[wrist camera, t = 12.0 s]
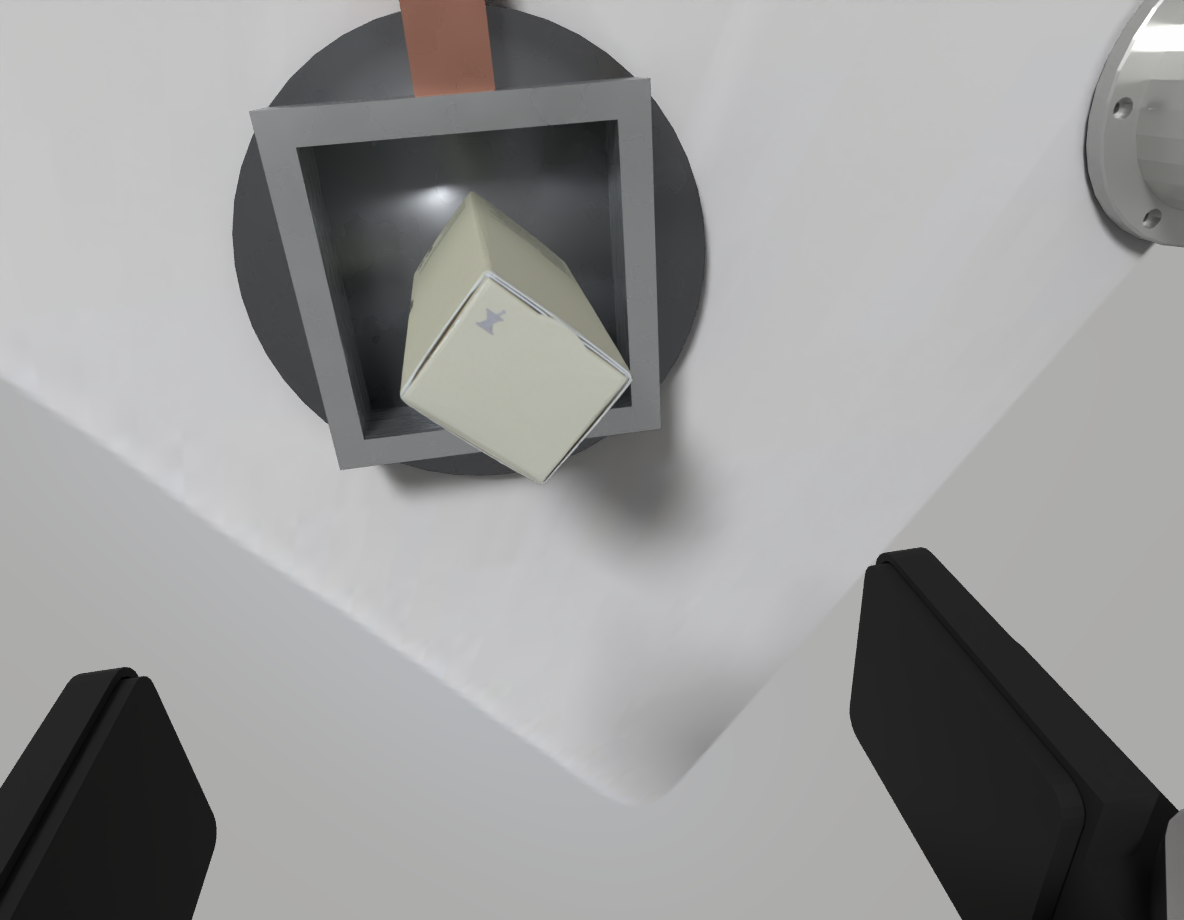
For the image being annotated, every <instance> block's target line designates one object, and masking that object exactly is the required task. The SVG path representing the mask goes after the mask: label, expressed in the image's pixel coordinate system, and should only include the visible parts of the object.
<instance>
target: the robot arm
mask: <svg viewBox="0 0 1184 920" xmlns="http://www.w3.org/2000/svg"><path fill="white" fill-rule="evenodd" d="M1086 150H1087V162H1088V173H1089V176H1090V180H1091V183H1092V186H1093V190H1094V193H1095V196H1096V198H1097V199H1098V201H1099V203H1100V204H1101V206H1102V208H1103V210H1104V211H1105V213H1106V215H1107V216H1109V217H1110V218H1111V219H1112V220H1113V221H1114V222H1115V223H1116V224H1117V225H1118V226H1119V227H1120V228H1121V229H1122V230H1124V231H1126V232H1128V233H1130V234H1132V235H1134V236H1135V237H1137V238H1139V239H1143V240H1147V241H1151V242H1154V243H1157V244H1161V245H1168V246H1177V247H1184V0H1145V1H1144V2H1143V3H1142V5H1141V6H1140V7H1139V9H1138V10H1137V11H1136V13H1135V14H1134V15H1133V17H1132V18H1131V19H1130V21H1129V22H1128V23H1127V25H1126V27H1125V28H1124V30H1123V32H1122V34H1121V35H1120V37H1119V39H1118V41H1117V42H1116V44H1115V46H1114V48H1113V49H1112V51H1111V53H1110V55H1109V57H1108V60H1107V62H1106V64H1105V67H1104V69H1103V72H1102V74H1101V77H1100V79H1099V82H1098V84H1097V87H1096V91H1095V95H1094V99H1093V102H1092V106H1091V110H1090V114H1089V121H1088V131H1087V142H1086ZM850 719H851V723H852V727H853V730H854V733H855V735H856V737H857V739H858V740H859V742H860V744H861V746H862V747H863V749H864V751H865V752H866V754H867V756H868V757H869V759H870V761H871V763H872V765H873V766H874V768H875V770H876V771H877V773H878V775H879V777H880V778H881V780H882V782H883V784H884V785H885V787H886V789H887V791H888V792H889V794H890V796H891V797H892V799H893V801H894V803H895V804H896V806H897V808H898V810H899V811H900V813H901V815H902V817H903V818H904V820H905V822H906V823H907V825H908V827H909V829H910V830H911V832H912V834H913V836H914V837H915V839H916V841H917V842H918V844H919V846H920V848H921V849H922V851H923V853H924V855H925V856H926V858H927V860H928V861H929V863H930V865H931V867H932V868H933V870H934V872H935V874H936V875H937V877H938V879H939V881H940V882H941V884H942V886H943V887H944V889H945V891H946V893H947V894H948V896H949V898H950V900H951V901H952V903H953V905H954V907H955V908H956V910H957V911H958V913H959V915H960V917H961V919H962V920H1184V809H1182V810H1180V811H1178V810H1177V809H1176V808H1175V806H1173V804H1172V803H1171V802H1170V801H1169V800H1168V799H1167V798H1166V797H1165V796H1164V795H1163V794H1162V793H1161V792H1160V791H1159V790H1158V789H1157V788H1156V787H1155V785H1154V784H1153V783H1151V781H1150V780H1149V779H1148V778H1147V777H1146V776H1145V775H1144V774H1143V773H1142V772H1141V771H1140V770H1139V769H1138V768H1137V767H1136V766H1135V764H1134V763H1133V762H1132V761H1131V760H1130V759H1129V758H1128V757H1127V756H1126V755H1125V754H1124V753H1123V752H1122V751H1121V750H1120V749H1119V748H1118V747H1117V746H1116V744H1115V743H1114V742H1113V741H1112V740H1111V739H1110V738H1109V737H1108V736H1107V735H1106V734H1105V733H1104V732H1103V731H1102V730H1101V729H1100V728H1099V727H1098V725H1097V724H1096V723H1095V722H1094V721H1093V720H1092V719H1091V718H1090V717H1089V716H1088V715H1087V714H1086V713H1085V712H1084V711H1083V710H1082V709H1081V708H1080V707H1079V706H1078V705H1077V703H1076V702H1075V701H1073V699H1072V698H1071V697H1070V696H1069V695H1068V694H1067V693H1066V692H1065V691H1064V690H1063V689H1062V688H1061V687H1060V686H1059V685H1058V683H1057V682H1056V681H1055V680H1054V679H1053V678H1052V677H1051V676H1050V675H1049V674H1048V673H1047V672H1046V671H1045V670H1044V669H1043V668H1042V667H1041V666H1040V664H1038V662H1037V661H1036V660H1035V659H1034V658H1033V657H1032V656H1031V655H1030V654H1029V653H1028V652H1027V651H1026V650H1025V649H1024V648H1023V647H1022V646H1021V645H1020V644H1019V643H1017V642H1016V641H1015V640H1014V639H1013V638H1012V637H1011V636H1010V635H1009V634H1008V633H1007V632H1006V631H1005V630H1004V629H1003V628H1002V627H1001V626H1000V625H999V624H998V622H996V620H995V619H994V618H993V617H992V616H991V615H990V614H989V613H988V612H987V611H986V610H985V609H984V608H983V607H982V606H981V605H980V604H979V602H978V601H977V600H976V599H975V598H974V597H973V596H972V595H971V594H970V593H969V592H968V591H967V590H966V589H965V588H964V587H963V586H962V584H961V583H960V582H959V581H958V580H957V579H956V578H955V577H954V576H953V575H952V574H951V573H950V572H949V571H948V570H947V569H946V568H945V567H944V565H943V564H942V563H941V562H940V561H939V560H938V559H937V558H936V557H935V556H934V555H933V554H932V553H931V552H930V551H929V550H927V549H926V548H922V547H920V548H913V549H907V550H901V551H893V552H887V553H883V554H880V555H879V557H878V558H877V561H876V565H873V566H869V567H868V568H867V570H866V573H865V579H864V589H863V597H862V606H861V614H860V623H859V632H858V640H857V649H856V658H855V667H854V675H853V684H852V692H851V701H850ZM215 843H216V821H215V818H214V815H213V813H212V810H211V808H210V806H209V804H208V802H207V799H206V797H205V795H204V793H203V791H202V789H201V786H200V784H199V782H198V780H197V778H196V775H195V773H194V771H193V769H192V767H191V765H190V762H189V760H188V758H187V756H186V754H185V751H184V749H183V747H182V745H181V743H180V741H179V738H178V736H177V734H176V732H175V730H174V727H173V725H172V723H171V721H170V719H169V717H168V715H167V712H166V710H165V708H164V706H163V704H162V701H161V699H160V697H159V695H158V693H157V690H156V688H155V687H154V684H153V683H152V681H151V679H149V678H148V677H146V676H143V677H138V675H137V674H136V672H135V671H134V670H133V669H131V668H128V667H123V668H116V669H109V670H102V671H96V672H90V673H82V674H78V675H76V676H74V677H73V678H72V679H71V680H70V681H69V682H68V683H67V685H66V687H65V688H64V690H63V691H62V693H61V694H60V696H59V698H58V699H57V701H56V702H55V704H54V705H53V707H52V708H51V710H50V712H49V713H48V715H47V716H46V718H45V720H44V721H43V722H42V724H41V726H40V728H39V729H38V730H37V732H36V734H35V735H34V737H33V738H32V740H31V741H30V743H29V744H28V746H27V747H26V749H25V751H24V752H23V754H22V755H21V757H20V759H19V760H18V762H17V763H16V765H15V766H14V768H13V769H12V771H11V773H10V774H9V776H8V777H7V779H6V780H5V782H4V783H3V785H2V787H1V788H0V920H192V917H193V913H194V911H195V907H196V904H197V901H198V898H199V895H200V892H201V889H202V886H203V883H204V879H205V876H206V873H207V870H208V867H209V864H210V861H211V858H212V854H213V851H214V847H215Z"/></svg>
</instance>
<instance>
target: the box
mask: <svg viewBox="0 0 1184 920" xmlns="http://www.w3.org/2000/svg"><path fill="white" fill-rule="evenodd" d="M632 381H633V377H632V374H631V372H630V370H629V368H628V366H627V365H626V363H625V361H624V360H623V358H622V356H621V354H620V353H619V351H618V349H617V348H616V346H615V344H614V343H613V341H612V339H611V338H610V336H609V334H608V333H607V331H606V330H605V328H604V326H603V324H602V323H601V321H600V319H599V318H598V316H597V314H596V313H595V311H594V309H593V308H592V306H591V304H590V303H589V301H588V299H587V298H586V296H585V295H584V293H583V291H582V290H581V288H580V286H579V285H578V283H577V281H576V280H575V278H574V276H573V275H572V273H571V271H570V270H569V268H568V266H567V265H566V263H565V262H564V261H563V260H562V259H560V258H559V257H558V256H557V255H556V254H555V253H553V252H552V251H551V250H550V249H549V248H547V247H546V246H545V245H544V244H543V243H541V242H540V241H539V240H537V239H536V238H535V237H534V236H532V235H531V234H530V233H529V232H527V231H526V230H525V229H524V228H522V227H521V226H520V225H518V224H517V223H516V222H514V221H513V220H512V219H510V218H509V217H508V216H507V215H505V214H504V213H502V212H501V211H500V210H498V209H497V208H496V207H495V206H493V205H492V204H491V203H489V202H488V201H487V200H485V199H484V198H482V197H481V196H480V195H478V194H477V193H475V192H473V191H471V192H469V193H468V195H467V196H466V198H465V199H464V201H463V202H462V203H461V205H460V206H459V207H458V209H457V210H456V212H455V213H454V214H453V216H452V217H451V219H450V220H449V221H448V223H447V224H446V226H445V227H444V229H443V230H442V232H441V233H440V235H439V236H438V238H437V239H436V241H435V242H434V244H433V245H432V247H431V248H430V250H429V251H428V253H427V254H426V256H425V257H424V259H423V261H422V262H421V264H420V265H419V267H418V269H417V270H416V272H415V274H414V280H413V287H412V296H411V305H410V314H409V320H408V329H407V337H406V346H405V353H404V363H403V370H402V381H401V390H400V397H401V399H402V400H403V401H404V402H405V403H406V404H407V405H409V406H410V407H412V408H413V409H415V410H416V411H418V412H419V413H421V414H423V415H424V416H426V417H427V418H429V419H430V420H432V421H433V422H435V423H436V424H438V425H440V426H441V427H443V428H445V429H446V430H448V431H449V432H451V433H453V434H454V435H456V436H457V437H459V438H461V439H462V440H464V441H465V442H467V443H468V444H470V445H472V446H473V447H475V448H477V449H478V450H480V451H482V452H483V453H485V454H487V455H488V456H490V457H492V458H494V459H495V460H497V461H499V462H500V463H502V464H504V465H505V466H507V467H509V468H511V469H512V470H514V471H516V472H518V473H520V474H521V475H523V476H525V477H527V478H529V479H531V480H532V481H534V482H536V483H538V484H544V483H546V482H547V481H548V480H549V479H550V478H551V476H552V475H553V474H554V473H555V472H556V471H557V469H558V468H559V467H560V466H561V465H562V464H563V462H564V461H565V460H566V459H567V458H568V457H569V456H570V455H571V454H572V453H573V452H574V451H575V449H576V448H577V447H578V446H579V444H580V443H581V442H582V441H583V440H584V439H585V438H586V437H587V436H588V434H589V433H590V432H591V431H592V430H593V429H594V428H595V426H596V425H597V424H598V423H599V422H600V420H601V419H602V418H603V417H604V416H605V415H606V413H607V412H608V411H609V410H610V408H611V407H612V406H613V405H614V404H615V402H616V401H617V400H618V399H619V398H620V396H621V395H622V394H623V393H624V391H625V390H626V389H627V388H628V386H629V385H630V384H631V383H632Z"/></svg>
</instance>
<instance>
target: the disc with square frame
mask: <svg viewBox="0 0 1184 920" xmlns="http://www.w3.org/2000/svg"><path fill="white" fill-rule="evenodd" d="M399 2H400V8H401V11H400V12H397V13H394V14H391V15H387V16H384V17H381V18H378V19H375V20H372V21H370V22H368V23H366V24H364V25H362V26H360V27H358V28H356V29H354V30H352V31H350V32H348V33H346V34H344V35H342V36H341V37H339V38H338V39H337V40H335V41H334V42H332V43H331V44H329V45H328V46H327V47H325V48H324V49H322V50H321V51H319V52H318V53H317V54H315V55H314V56H313V57H312V58H311V59H310V60H309V61H308V62H307V63H306V64H305V65H304V66H302V67H301V68H300V69H299V70H298V71H297V72H296V73H295V74H294V75H293V76H292V77H291V78H290V79H289V80H288V82H287V83H286V84H285V86H284V87H283V88H282V90H281V91H280V92H279V93H278V95H277V96H276V97H275V99H274V100H273V101H272V103H271V104H270V105H269V107H266V108H262V109H258V110H253V111H249V113H250V117H251V121H252V125H253V129H254V134H253V136H252V139H251V142H250V144H249V147H248V150H247V153H246V155H245V158H244V161H243V164H242V167H241V170H240V175H239V180H238V185H237V190H236V195H235V200H234V215H233V231H232V235H233V247H234V260H235V268H236V273H237V277H238V282H239V287H240V291H241V296H242V299H243V302H244V305H245V307H246V310H247V313H248V316H249V319H250V321H251V324H252V327H253V329H254V331H255V333H256V335H257V337H258V339H259V341H260V342H261V344H262V346H263V348H264V350H265V352H266V354H267V356H268V357H269V359H270V360H271V362H272V363H273V365H274V366H275V367H276V369H277V370H278V372H279V373H280V375H281V376H282V378H283V379H284V381H285V382H286V383H287V384H288V385H289V386H290V387H291V388H292V390H293V391H294V392H295V393H296V394H297V395H298V396H299V398H300V399H301V400H302V401H303V402H304V403H305V404H306V405H307V406H308V407H309V408H310V409H312V410H313V411H314V412H315V413H316V414H317V415H318V416H319V417H321V418H322V419H323V420H324V421H325V422H326V423H328V424H329V428H330V432H331V435H332V439H333V443H334V447H335V451H336V455H337V459H338V463H339V467H340V470H345V469H352V468H360V467H368V466H376V465H383V464H391V463H402V464H406V465H410V466H413V467H417V468H421V469H424V470H428V471H435V472H441V473H447V474H454V475H477V476H484V475H497V474H509V473H514V472H516V471H514V470H512V469H511V468H509V467H507V466H505V465H504V464H502V463H500V462H499V461H497V460H495V459H494V458H492V457H490V456H488V455H487V454H485V453H483V452H482V451H480V450H478V449H477V448H475V447H473V446H472V445H470V444H468V443H467V442H465V441H464V440H462V439H461V438H459V437H457V436H456V435H454V434H453V433H451V432H449V431H448V430H446V429H445V428H443V427H441V426H440V425H438V424H436V423H435V422H433V421H432V420H430V419H429V418H427V417H426V416H424V415H423V414H421V413H419V412H418V411H416V410H415V409H413V408H412V407H410V406H409V405H407V404H406V403H405V402H404V401H403V400H402V399H401V397H400V390H401V381H402V370H403V363H404V353H405V346H406V337H407V329H408V320H409V314H410V305H411V296H412V287H413V280H414V274H415V272H416V270H417V269H418V267H419V265H420V264H421V262H422V261H423V259H424V257H425V256H426V254H427V253H428V251H429V250H430V248H431V247H432V245H433V244H434V242H435V241H436V239H437V238H438V236H439V235H440V233H441V232H442V230H443V229H444V227H445V226H446V224H447V223H448V221H449V220H450V219H451V217H452V216H453V214H454V213H455V212H456V210H457V209H458V207H459V206H460V205H461V203H462V202H463V201H464V199H465V198H466V196H467V195H468V193H469V192H471V191H473V192H475V193H477V194H478V195H480V196H481V197H482V198H484V199H485V200H487V201H488V202H489V203H491V204H492V205H493V206H495V207H496V208H497V209H498V210H500V211H501V212H502V213H504V214H505V215H507V216H508V217H509V218H510V219H512V220H513V221H514V222H516V223H517V224H518V225H520V226H521V227H522V228H524V229H525V230H526V231H527V232H529V233H530V234H531V235H532V236H534V237H535V238H536V239H537V240H539V241H540V242H541V243H543V244H544V245H545V246H546V247H547V248H549V249H550V250H551V251H552V252H553V253H555V254H556V255H557V256H558V257H559V258H560V259H562V260H563V261H564V262H565V263H566V265H567V266H568V268H569V270H570V271H571V273H572V275H573V276H574V278H575V280H576V281H577V283H578V285H579V286H580V288H581V290H582V291H583V293H584V295H585V296H586V298H587V299H588V301H589V303H590V304H591V306H592V308H593V309H594V311H595V313H596V314H597V316H598V318H599V319H600V321H601V323H602V324H603V326H604V328H605V330H606V331H607V333H608V334H609V336H610V338H611V339H612V341H613V343H614V344H615V346H616V348H617V349H618V351H619V353H620V354H621V356H622V358H623V360H624V361H625V363H626V365H627V366H628V368H629V370H630V372H631V374H632V377H633V381H632V383H631V384H630V385H629V386H628V388H627V389H626V390H625V391H624V393H623V394H622V395H621V396H620V398H619V399H618V400H617V401H616V402H615V404H614V405H613V406H612V407H611V408H610V410H609V411H608V412H607V413H606V415H605V416H604V417H603V418H602V419H601V420H600V422H599V423H598V424H597V425H596V426H595V428H594V429H593V430H592V431H591V432H590V433H589V434H588V436H587V437H586V438H585V439H584V440H583V441H582V442H581V443H580V444H579V446H578V447H577V448H576V449H575V451H574V452H573V453H572V454H571V455H574V454H576V453H578V452H580V451H583V450H585V449H586V448H588V447H590V446H591V445H593V444H595V443H596V442H598V441H600V440H601V439H603V438H605V437H606V436H608V435H616V434H624V433H631V432H639V431H647V430H655V429H661V415H660V384H661V383H662V382H663V380H664V379H665V377H666V376H667V374H668V372H669V371H670V369H671V368H672V366H673V364H674V363H675V361H676V360H677V358H678V356H679V354H680V352H681V349H682V347H683V345H684V343H685V341H686V339H687V336H688V334H689V332H690V329H691V326H692V323H693V320H694V317H695V313H696V310H697V307H698V303H699V298H700V292H701V287H702V282H703V275H704V259H705V237H704V221H703V214H702V209H701V204H700V198H699V193H698V188H697V185H696V182H695V179H694V176H693V173H692V170H691V167H690V164H689V161H688V158H687V156H686V154H685V152H684V150H683V147H682V145H681V143H680V141H679V139H678V137H677V135H676V133H675V131H674V129H673V127H672V126H671V124H670V123H669V121H668V120H667V118H666V117H665V115H664V114H663V112H662V111H661V109H660V108H659V106H658V104H657V103H656V101H655V100H654V99H653V98H652V97H651V83H650V78H640V77H634V76H633V75H632V74H630V73H629V72H628V71H627V70H626V69H625V68H624V67H623V66H621V65H620V64H619V63H618V62H617V61H616V60H615V59H613V58H612V57H611V56H610V55H609V54H608V53H606V52H605V51H603V50H602V49H600V48H599V47H597V46H596V45H594V44H592V43H591V42H589V41H588V40H586V39H585V38H583V37H582V36H580V35H579V34H577V33H574V32H572V31H570V30H568V29H566V28H564V27H562V26H560V25H558V24H556V23H553V22H551V21H549V20H547V19H544V18H540V17H537V16H534V15H531V14H527V13H524V12H521V11H518V10H514V9H508V8H502V7H495V6H489V5H485V0H399ZM571 455H570V456H571Z"/></svg>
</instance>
